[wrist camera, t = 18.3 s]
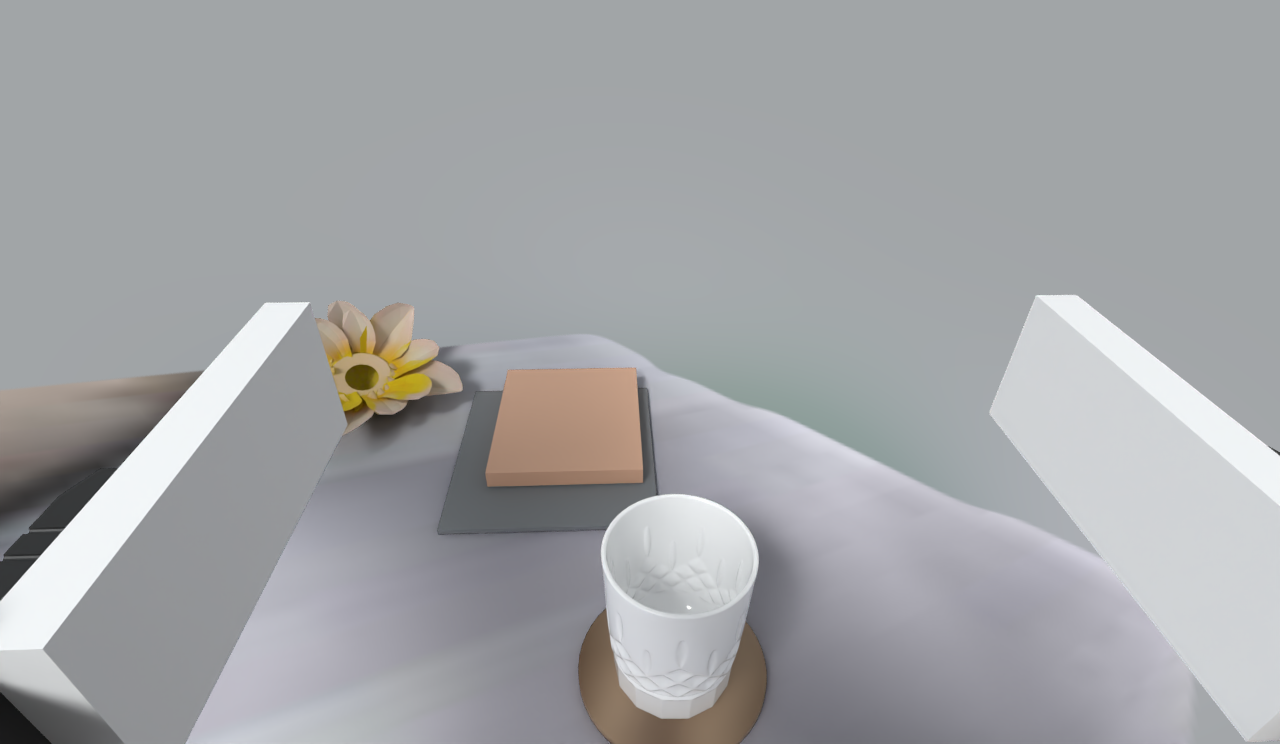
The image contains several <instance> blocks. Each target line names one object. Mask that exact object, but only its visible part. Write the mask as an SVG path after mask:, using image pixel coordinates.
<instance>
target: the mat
mask: <svg viewBox="0 0 1280 744" xmlns="http://www.w3.org/2000/svg"><path fill="white" fill-rule="evenodd" d="M637 390H638V404H639V418H640V432H641V447H642V461H643V483H619V484H579V485H539V486H499V487H487V481H486V475H485V472H486V467H487V463H488V458H489V454H490V449H491V445H492V440H493V436H494V431H495V426H496V422H497V417H498V413H499V408H500V404H501V399H502V394H503V391H476V393H475V396H474V400H473V403H472V407H471V411H470V414H469V418H468V421H467V425H466V429H465V432H464V436H463V439H462V443H461V447H460V450H459V454H458V457H457V461H456V465H455V468H454V472H453V475H452V479H451V483H450V486H449V490H448V493H447V497H446V501H445V504H444V508H443V511H442V515H441V519H440V522H439V526H438V529H437V531H438V534H464V533H500V532H535V531H571V530H607V528H608V527H609V525H610V523H611V522H612V521H613V520H614V518H615V517H616V516H617V515H618V514H619V513H621V512H622V511H623V510H624V509H626V508H627V507H629V506H630V505H632V504H634V503H636V502H638V501H641V500H643V499H646V498H649V497H653V496H657V494H656V483H655V472H654V461H653V450H652V439H651V427H650V416H649V405H648V394H647V388H637Z"/></svg>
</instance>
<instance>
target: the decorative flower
mask: <svg viewBox="0 0 1280 744" xmlns="http://www.w3.org/2000/svg"><path fill="white" fill-rule="evenodd" d="M328 320H329V321H327V320H324V319H321V318H315V321H316V324H317V327H318V330H319V333H320V337H321V340H322V343H323V346H324V350H325V353H326V356H327V359H328V363H329V366H330V369H331V372H332V375H333V379H334V382H335V385H336V388H337V392H338V395H339V398H340V401H341V404H342V408H343V411H344V414H345V417H346V421H347V424H348V425H347V427H346V429H345V431H344V433H343V435H345V434H347V433H349V432H351V431H353V430H354V429H356V428H357V427H359V426H360V425H362V424H363V423H364V422H366V421H367V420H368V419H369V418H371V417H372V415H373V413H374V412H375V413H376V414H378V415H379V414H395V413H397V412H399V411H400V410H402V409H403V408H404V407H405V406H406V405H407V402H408V400H414V399H420V398H422V397H424V396H432V395H442V394H449V393H455V392H460V391H462V390H463V385H462V382H461V379H460V376H459V374H458V373H457V372H456V371H454V370H453V369H452V368H451V367H450V366H447V365H445V364H443V363H441V362H439V361H434V360H432V359H433V358H435V357H436V356H437V355H438V351H439V346H438V345H437V344H436V343H435V342H434V341H432V340H429V339H416V340H412V341H411V338H412V329H413V321H414V307H413V306H411V305H408V304H403V303H396V304H392V305H389V306H387V307H385V308H384V309H382V310H380V311H379V312H378V313H376V314H374V316H373V317H372V319H371V320H370V321H369V319H368V318H367V317H366V316H365V315H364V314H363V313H362V312H360V311H359V310H358V309H357V308H356V307H355V306H353V305H351V304H350V303H348V302H343V301H336V302H334V303H332V304H330V305H328ZM343 435H342V436H343Z"/></svg>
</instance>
